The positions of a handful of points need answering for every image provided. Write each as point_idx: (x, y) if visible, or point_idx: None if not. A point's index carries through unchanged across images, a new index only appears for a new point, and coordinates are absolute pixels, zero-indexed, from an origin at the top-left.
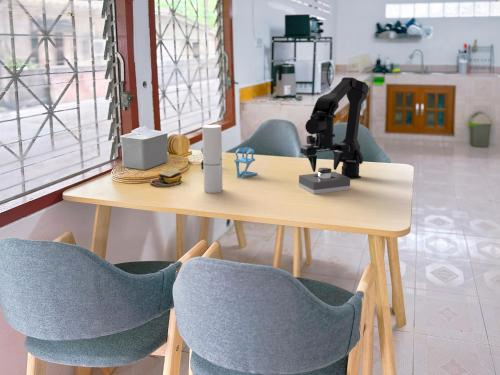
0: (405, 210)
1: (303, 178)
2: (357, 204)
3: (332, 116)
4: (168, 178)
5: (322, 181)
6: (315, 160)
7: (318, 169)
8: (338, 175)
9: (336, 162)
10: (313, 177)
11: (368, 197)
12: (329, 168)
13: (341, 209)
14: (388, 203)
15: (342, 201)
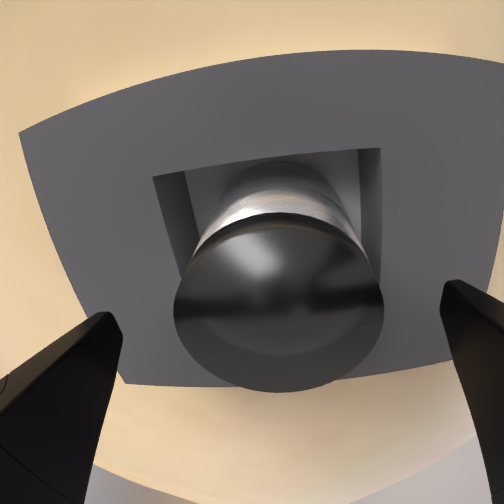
0: (394, 482)
1: (54, 224)
2: (303, 457)
3: None
4: None
5: (197, 386)
6: (70, 502)
7: (174, 313)
8: (455, 254)
9: (481, 409)
10: (140, 256)
11: (405, 414)
12: (377, 308)
13: (223, 469)
14: (407, 455)
15: (265, 434)
